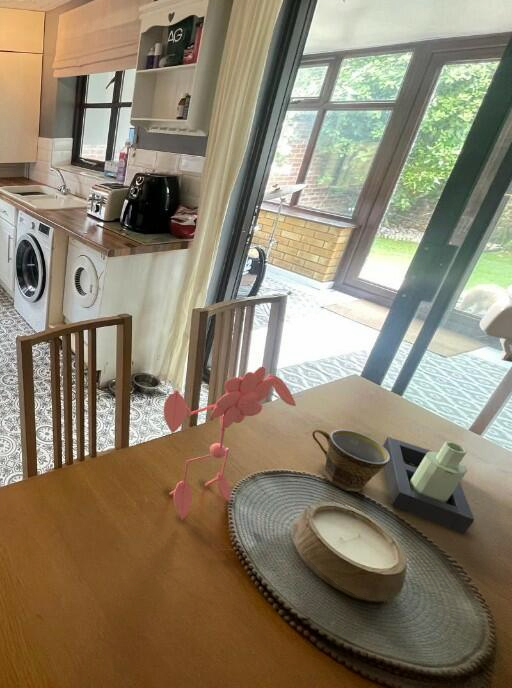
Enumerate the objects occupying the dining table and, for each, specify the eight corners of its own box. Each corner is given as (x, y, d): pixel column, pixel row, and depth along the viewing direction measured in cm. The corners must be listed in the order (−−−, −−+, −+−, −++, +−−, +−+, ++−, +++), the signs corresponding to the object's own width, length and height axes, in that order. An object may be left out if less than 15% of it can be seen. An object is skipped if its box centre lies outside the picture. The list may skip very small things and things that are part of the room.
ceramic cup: (376, 482, 91) (395, 448, 87) (364, 506, 85) (383, 471, 81) (309, 448, 100) (323, 416, 96) (293, 468, 94) (308, 435, 90)
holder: (441, 469, 94) (449, 456, 93) (464, 533, 80) (474, 519, 78) (380, 449, 100) (387, 436, 98) (391, 505, 85) (399, 492, 84)
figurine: (133, 499, 86) (162, 359, 71) (233, 474, 93) (279, 340, 78) (180, 570, 73) (228, 415, 58) (293, 535, 79) (363, 387, 64)
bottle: (437, 497, 87) (472, 444, 81) (443, 517, 83) (481, 463, 77) (401, 484, 90) (432, 432, 84) (405, 503, 86) (438, 449, 80)
